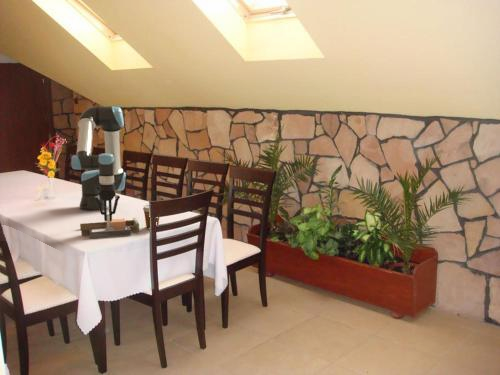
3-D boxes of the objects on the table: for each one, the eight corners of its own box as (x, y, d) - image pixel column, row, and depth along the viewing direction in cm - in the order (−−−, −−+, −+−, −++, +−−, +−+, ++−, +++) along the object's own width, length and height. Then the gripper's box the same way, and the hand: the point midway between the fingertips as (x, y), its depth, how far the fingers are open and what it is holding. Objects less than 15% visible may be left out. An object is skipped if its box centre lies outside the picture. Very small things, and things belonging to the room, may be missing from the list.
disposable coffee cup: (162, 225, 288) (161, 204, 286) (159, 230, 279) (159, 208, 277) (145, 225, 288) (144, 204, 286) (142, 230, 279) (141, 208, 276)
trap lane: (80, 229, 278) (80, 221, 278) (135, 225, 288) (135, 218, 287) (82, 239, 261) (81, 231, 260) (140, 234, 271) (140, 227, 270)
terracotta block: (109, 228, 280) (109, 219, 279) (124, 227, 283) (124, 218, 282) (110, 231, 275) (110, 222, 274) (125, 230, 277) (125, 221, 276)
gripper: (94, 185, 266) (96, 229, 271) (120, 184, 271) (121, 227, 275) (93, 182, 273) (95, 225, 278) (118, 181, 277) (120, 224, 282)
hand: (108, 226), depth 276 cm, fingers closed
